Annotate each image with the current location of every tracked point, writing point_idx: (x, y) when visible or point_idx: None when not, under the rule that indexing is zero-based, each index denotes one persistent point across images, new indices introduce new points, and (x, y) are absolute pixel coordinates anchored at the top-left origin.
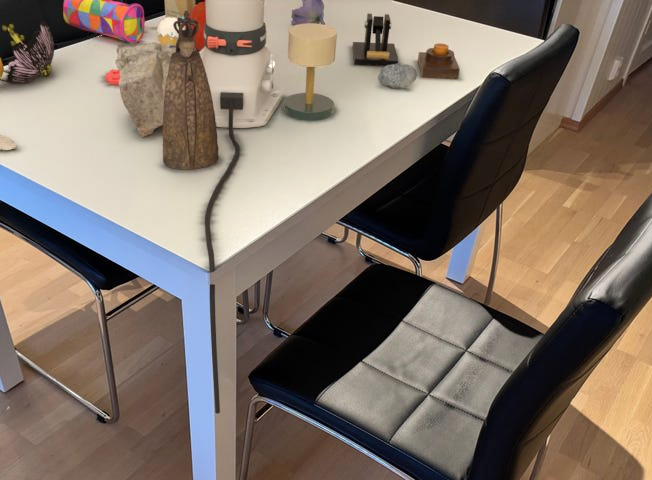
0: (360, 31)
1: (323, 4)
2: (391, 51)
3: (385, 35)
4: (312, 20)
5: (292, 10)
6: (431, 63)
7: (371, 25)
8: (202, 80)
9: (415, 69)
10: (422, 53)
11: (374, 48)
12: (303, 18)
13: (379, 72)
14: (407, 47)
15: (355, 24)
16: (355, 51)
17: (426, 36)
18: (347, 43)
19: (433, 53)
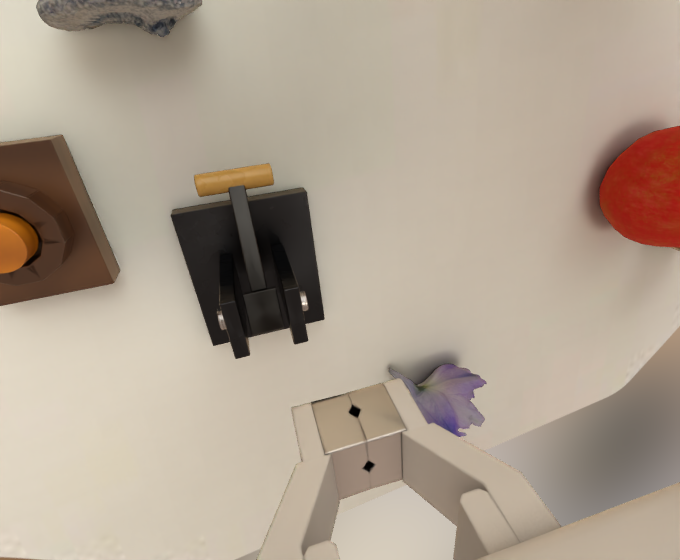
0: None
1: None
2: (209, 286)
3: (229, 278)
4: (430, 382)
5: (485, 382)
6: (34, 189)
7: (283, 280)
8: None
9: (39, 3)
10: (98, 274)
11: None
12: (452, 376)
13: (198, 2)
14: (178, 363)
15: None
16: (310, 252)
17: (147, 447)
18: (335, 332)
19: (26, 216)
